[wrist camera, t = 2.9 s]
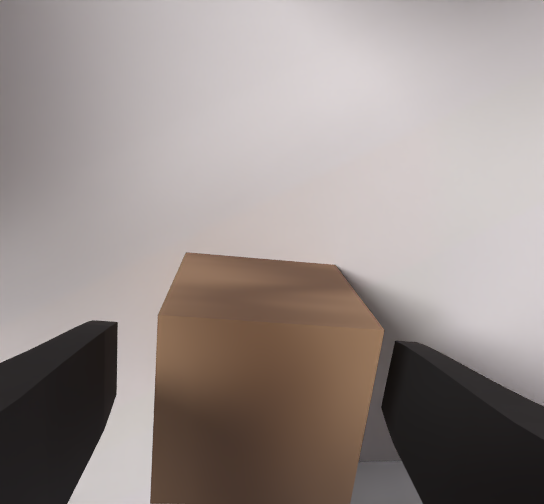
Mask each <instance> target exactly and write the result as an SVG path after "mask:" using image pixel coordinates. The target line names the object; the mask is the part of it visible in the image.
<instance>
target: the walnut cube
mask: <svg viewBox="0 0 544 504" xmlns="http://www.w3.org/2000/svg"><path fill="white" fill-rule="evenodd" d="M383 335H384V329H383V327H382V326H381V325H380V324H379V322H378V321H377V320H376V318H375V317H374V316H373V314H372V313H371V312H370V310H369V309H368V308H367V306H366V305H365V304H364V302H363V301H362V300H361V298H360V297H359V296H358V294H357V293H356V292H355V290H354V289H353V288H352V286H351V285H350V284H349V283H348V281H347V280H346V279H345V277H344V276H343V275H342V273H341V272H340V271H339V269H338V268H337V267H336V265H329V264H317V263H306V262H294V261H282V260H270V259H258V258H246V257H234V256H222V255H210V254H198V253H186V254H185V256H184V258H183V260H182V263H181V265H180V267H179V269H178V272H177V274H176V276H175V278H174V280H173V283H172V285H171V287H170V289H169V292H168V294H167V296H166V298H165V300H164V303H163V305H162V307H161V309H160V312H159V314H158V327H157V351H156V376H155V400H154V425H153V450H152V474H151V499H150V504H350V502H351V497H352V492H353V487H354V482H355V477H356V472H357V467H358V462H359V457H360V452H361V447H362V441H363V436H364V431H365V426H366V421H367V416H368V411H369V406H370V401H371V396H372V391H373V386H374V381H375V376H376V371H377V365H378V360H379V355H380V350H381V345H382V340H383Z"/></svg>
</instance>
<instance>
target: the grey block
mask: <svg viewBox="0 0 544 504" xmlns="http://www.w3.org/2000/svg"><path fill="white" fill-rule="evenodd" d="M350 504H423V503H422V501H421V499H420V497H419V495H418V493H417V491H416V489H415V487H414V485H413V483H412V481H411V479H410V477H409V475H408V473H407V471H406V469H405V467H404V465H403V463H402V461H372V462H358V467H357V472H356V477H355V482H354V487H353V492H352V497H351V502H350Z"/></svg>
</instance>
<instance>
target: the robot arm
mask: <svg viewBox="0 0 544 504" xmlns="http://www.w3.org/2000/svg"><path fill="white" fill-rule="evenodd" d="M117 327H118V322H108V321H93V320H92V321H89V322H86V323H84V324H82V325H80V326H77V327H75V328H73V329H71V330H69V331H67V332H65V333H63V334H61V335H59V336H57V337H55V338H53V339H51V340H49V341H47V342H45V343H43V344H41V345H39V346H37V347H35V348H33V349H31V350H28V351H26V352H24V353H22V354H20V355H17V356H15V357H13V358H11V359H8V360H6V361H4V362H2V363H0V504H67V503H68V501H69V499H70V497H71V495H72V493H73V491H74V489H75V487H76V485H77V483H78V481H79V479H80V477H81V475H82V473H83V471H84V469H85V467H86V466H87V464H88V462H89V460H90V458H91V456H92V454H93V451H94V449H95V447H96V445H97V443H98V441H99V439H100V437H101V435H102V433H103V431H104V429H105V426H106V423H107V420H108V418H109V415H110V412H111V409H112V406H113V403H114V400H115V397H116V389H117ZM381 408H382V411H383V415H384V418H385V421H386V424H387V427H388V430H389V433H390V436H391V439H392V442H393V444H394V446H395V448H396V450H397V452H398V454H399V456H400V458H401V461H402V463H403V465H404V467H405V469H406V471H407V473H408V475H409V477H410V479H411V481H412V483H413V485H414V487H415V489H416V491H417V493H418V495H419V497H420V499H421V501H422V503H423V504H544V406H541V405H539V404H537V403H535V402H533V401H531V400H529V399H527V398H525V397H523V396H521V395H519V394H517V393H515V392H513V391H511V390H509V389H507V388H505V387H503V386H501V385H499V384H497V383H495V382H493V381H491V380H490V379H488V378H486V377H484V376H482V375H480V374H478V373H477V372H475V371H473V370H471V369H469V368H468V367H466V366H464V365H462V364H460V363H458V362H457V361H455V360H453V359H451V358H449V357H447V356H446V355H444V354H442V353H440V352H438V351H436V350H434V349H432V348H430V347H428V346H425V345H423V344H420V343H417V342H404V341H395V344H394V349H393V354H392V358H391V363H390V368H389V373H388V377H387V382H386V387H385V392H384V396H383V401H382V406H381Z"/></svg>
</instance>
